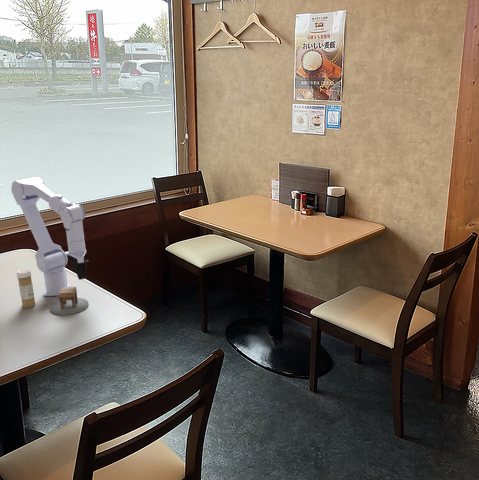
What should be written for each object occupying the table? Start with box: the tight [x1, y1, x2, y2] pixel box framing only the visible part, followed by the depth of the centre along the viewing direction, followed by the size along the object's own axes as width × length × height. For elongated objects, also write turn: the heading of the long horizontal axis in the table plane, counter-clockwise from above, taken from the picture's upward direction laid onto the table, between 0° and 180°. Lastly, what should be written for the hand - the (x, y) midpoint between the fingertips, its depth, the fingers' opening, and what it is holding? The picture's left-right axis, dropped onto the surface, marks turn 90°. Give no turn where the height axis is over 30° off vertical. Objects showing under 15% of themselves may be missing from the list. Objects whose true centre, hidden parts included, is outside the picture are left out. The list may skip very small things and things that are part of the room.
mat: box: [49, 297, 89, 316], centre depth 181 cm, size 13×13×1 cm
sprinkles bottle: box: [16, 268, 36, 308], centre depth 181 cm, size 5×5×14 cm
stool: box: [58, 286, 79, 309], centre depth 180 cm, size 5×5×6 cm
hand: (80, 275), depth 182 cm, fingers open, 7 cm apart
